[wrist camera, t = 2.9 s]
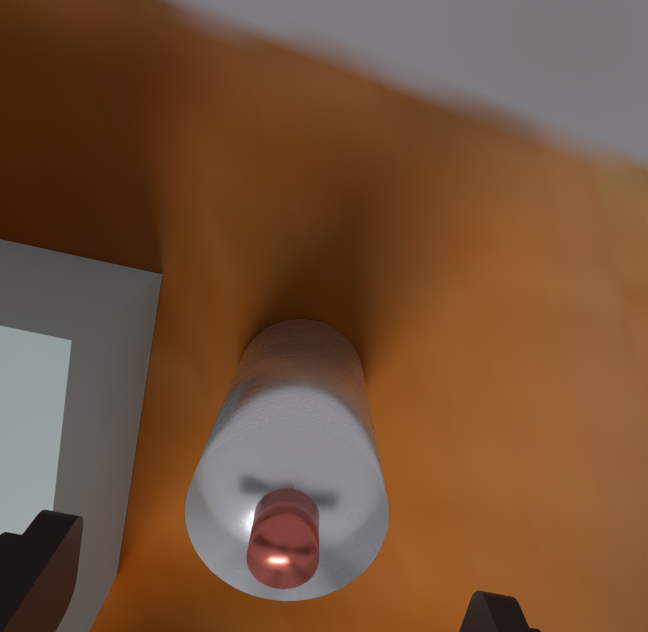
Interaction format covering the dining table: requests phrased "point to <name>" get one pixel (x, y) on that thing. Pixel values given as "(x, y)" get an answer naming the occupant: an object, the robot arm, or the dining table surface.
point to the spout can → (291, 469)
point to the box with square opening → (72, 401)
